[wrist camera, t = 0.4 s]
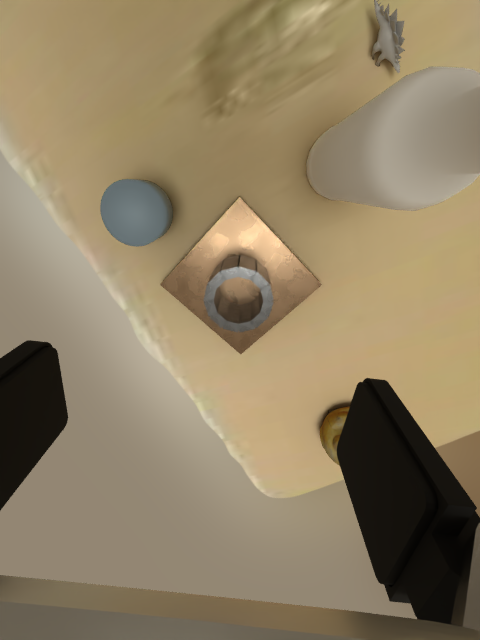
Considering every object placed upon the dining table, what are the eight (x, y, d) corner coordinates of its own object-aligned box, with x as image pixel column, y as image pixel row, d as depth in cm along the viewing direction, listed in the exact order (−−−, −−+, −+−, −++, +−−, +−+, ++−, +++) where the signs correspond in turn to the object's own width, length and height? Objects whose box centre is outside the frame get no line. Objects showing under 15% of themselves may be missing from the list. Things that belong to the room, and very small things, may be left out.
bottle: (300, 197, 38) (430, 229, 11) (310, 124, 35) (533, -103, 7) (363, 201, 38) (656, 242, 10) (378, 128, 34) (863, -87, 7)
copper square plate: (162, 281, 43) (145, 300, 36) (239, 196, 38) (237, 199, 31) (240, 349, 47) (239, 379, 40) (319, 281, 42) (333, 301, 35)
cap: (118, 209, 39) (88, 214, 32) (149, 167, 37) (124, 163, 30) (158, 245, 41) (139, 258, 34) (190, 208, 39) (176, 214, 32)
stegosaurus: (376, -2, 30) (397, -33, 26) (401, 70, 32) (424, 53, 28) (353, 16, 31) (370, -11, 26) (380, 86, 33) (399, 71, 29)
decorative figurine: (369, 434, 54) (409, 519, 40) (324, 446, 56) (349, 531, 42) (356, 395, 50) (395, 473, 37) (309, 408, 52) (330, 488, 38)
